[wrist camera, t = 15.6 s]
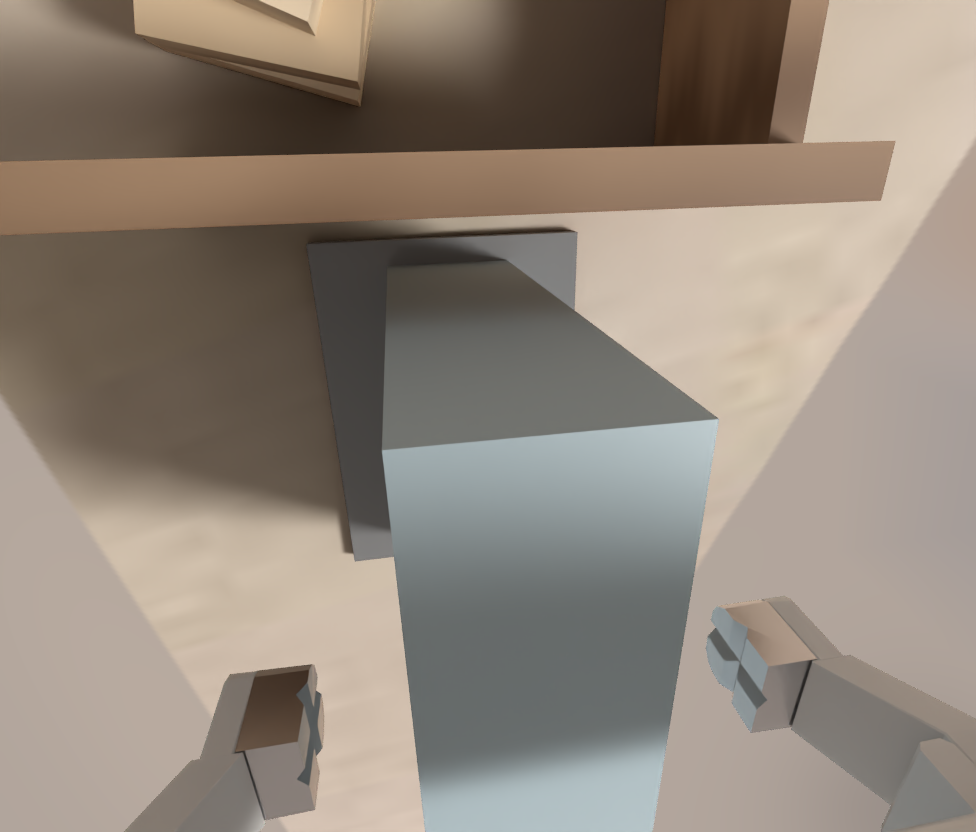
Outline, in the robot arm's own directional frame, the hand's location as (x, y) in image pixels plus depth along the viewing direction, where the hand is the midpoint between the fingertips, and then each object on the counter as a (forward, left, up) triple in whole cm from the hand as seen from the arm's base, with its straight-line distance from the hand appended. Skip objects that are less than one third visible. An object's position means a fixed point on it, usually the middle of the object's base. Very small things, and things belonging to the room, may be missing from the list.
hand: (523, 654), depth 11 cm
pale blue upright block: (0, 0, -13) cm, 13 cm away
